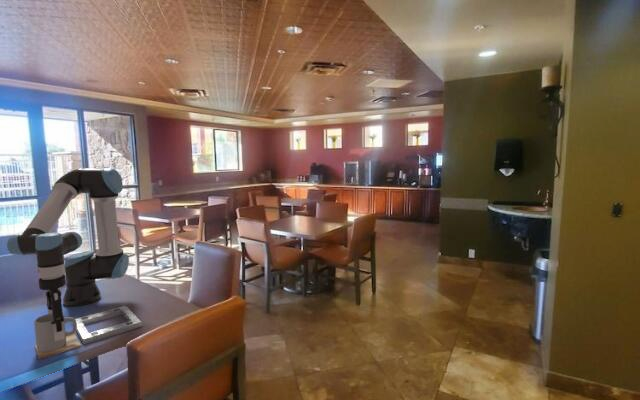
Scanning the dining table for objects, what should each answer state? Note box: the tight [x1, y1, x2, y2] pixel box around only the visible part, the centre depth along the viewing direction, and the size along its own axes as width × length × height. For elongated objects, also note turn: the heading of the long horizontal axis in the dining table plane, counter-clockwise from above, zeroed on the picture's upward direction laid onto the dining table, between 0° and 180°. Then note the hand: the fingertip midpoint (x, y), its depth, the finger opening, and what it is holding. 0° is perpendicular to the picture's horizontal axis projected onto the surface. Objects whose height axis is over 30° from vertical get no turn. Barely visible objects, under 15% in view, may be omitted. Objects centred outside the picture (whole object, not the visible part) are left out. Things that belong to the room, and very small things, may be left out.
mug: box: [33, 313, 77, 353], centre depth 123 cm, size 12×8×11 cm
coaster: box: [34, 332, 82, 360], centre depth 124 cm, size 12×12×1 cm
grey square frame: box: [72, 305, 143, 345], centre depth 140 cm, size 22×20×2 cm
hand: (56, 332), depth 123 cm, fingers open, 13 cm apart
